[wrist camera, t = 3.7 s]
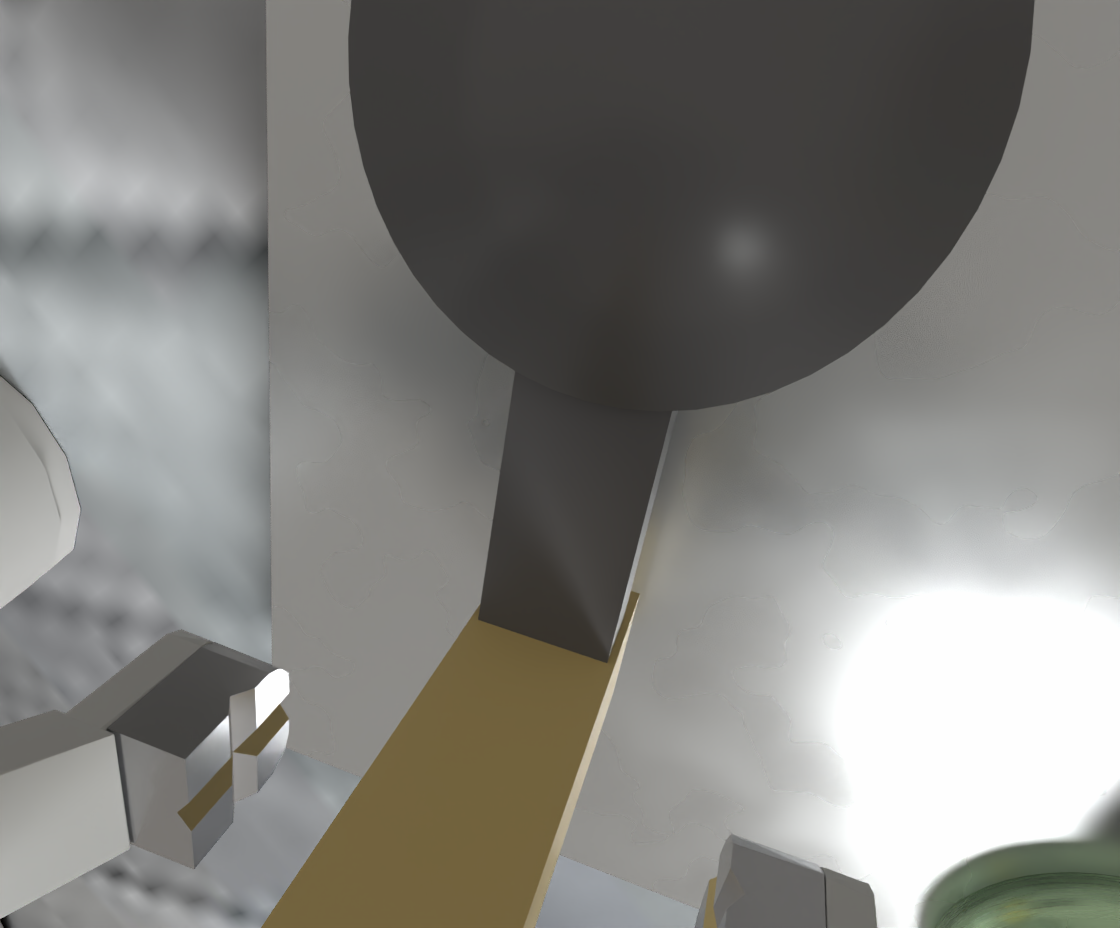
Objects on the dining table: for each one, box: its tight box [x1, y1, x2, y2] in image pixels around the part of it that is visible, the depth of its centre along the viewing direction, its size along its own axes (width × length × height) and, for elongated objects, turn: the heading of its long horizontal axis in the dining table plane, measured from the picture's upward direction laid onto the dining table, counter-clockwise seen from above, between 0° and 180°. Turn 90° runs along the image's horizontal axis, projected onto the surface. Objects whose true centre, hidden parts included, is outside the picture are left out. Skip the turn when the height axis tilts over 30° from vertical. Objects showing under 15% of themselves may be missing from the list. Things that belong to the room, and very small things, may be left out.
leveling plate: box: [266, 0, 1120, 928], centre depth 11 cm, size 22×20×3 cm
